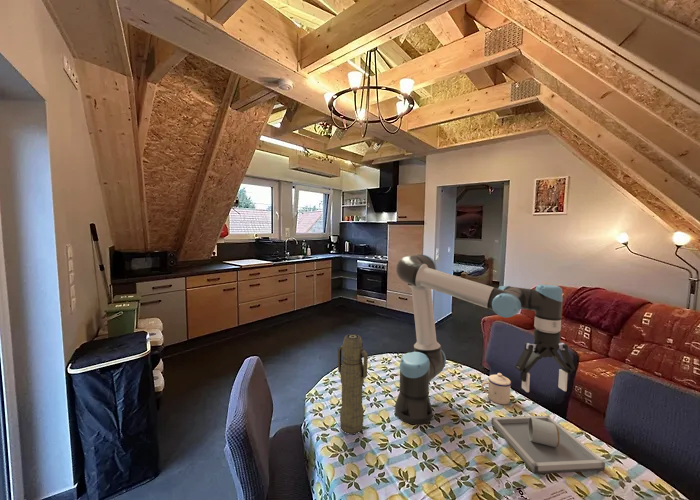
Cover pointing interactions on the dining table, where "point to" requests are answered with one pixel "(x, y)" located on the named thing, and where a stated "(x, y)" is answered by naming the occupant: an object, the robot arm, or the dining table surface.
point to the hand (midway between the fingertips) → (543, 389)
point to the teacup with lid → (498, 389)
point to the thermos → (352, 383)
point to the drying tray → (547, 448)
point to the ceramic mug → (543, 432)
